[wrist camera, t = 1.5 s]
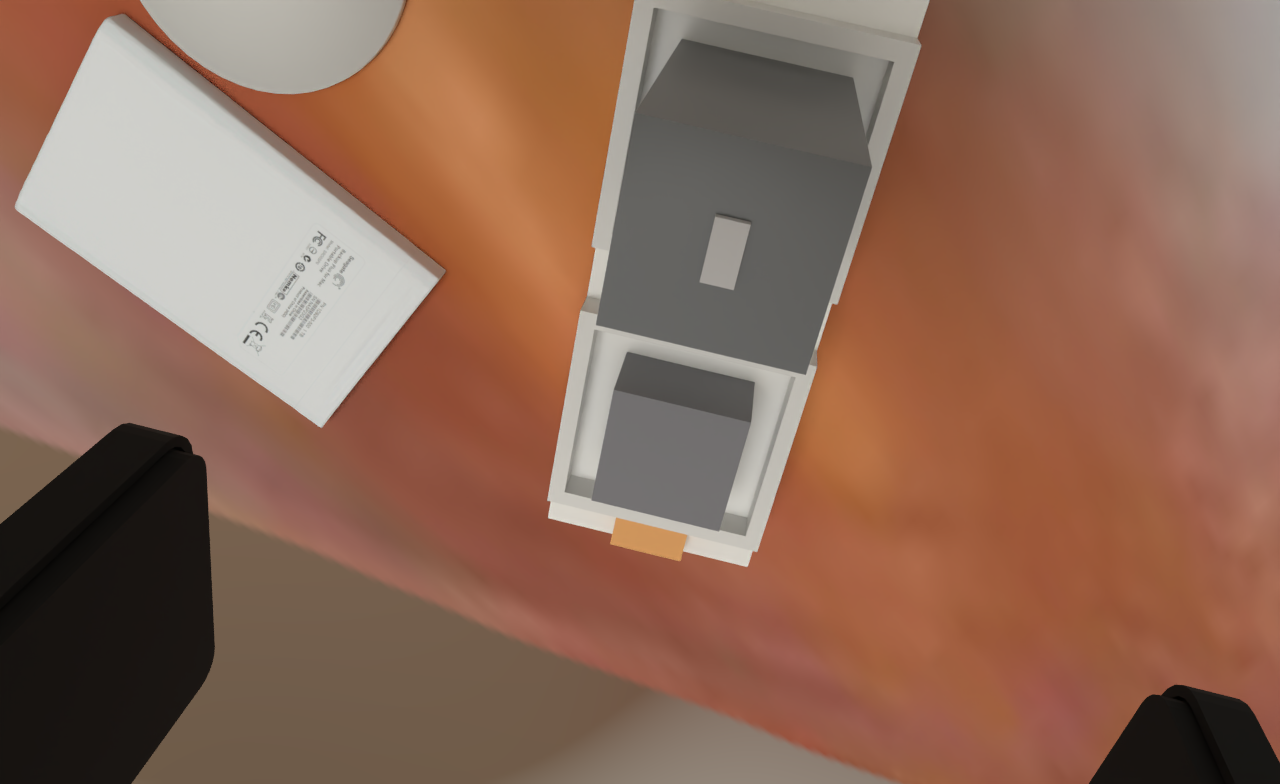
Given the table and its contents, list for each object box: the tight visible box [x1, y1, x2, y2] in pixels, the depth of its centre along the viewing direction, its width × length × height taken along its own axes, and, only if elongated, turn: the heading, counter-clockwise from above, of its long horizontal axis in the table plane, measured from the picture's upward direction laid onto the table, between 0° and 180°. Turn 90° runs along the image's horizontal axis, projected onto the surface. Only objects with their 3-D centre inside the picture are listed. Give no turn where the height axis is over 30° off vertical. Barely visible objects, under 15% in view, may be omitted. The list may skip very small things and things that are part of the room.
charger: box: [596, 39, 872, 375], centre depth 22 cm, size 4×4×8 cm
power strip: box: [547, 0, 930, 567], centre depth 27 cm, size 26×7×5 cm, turn 169°
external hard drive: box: [15, 14, 446, 428], centre depth 33 cm, size 2×8×12 cm
